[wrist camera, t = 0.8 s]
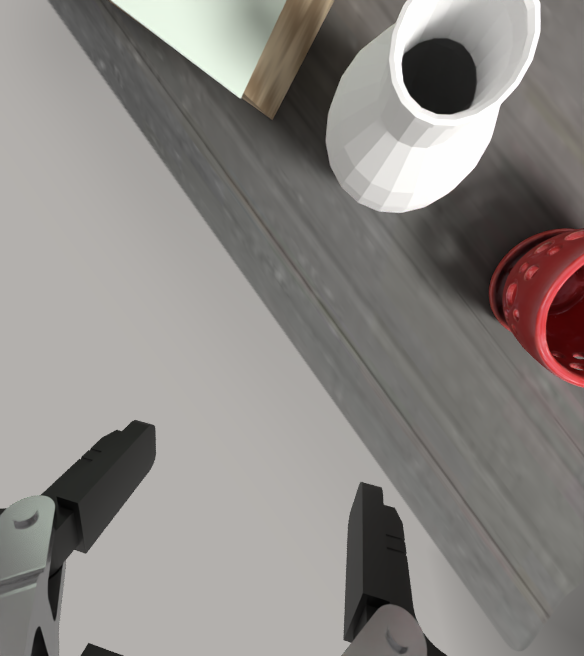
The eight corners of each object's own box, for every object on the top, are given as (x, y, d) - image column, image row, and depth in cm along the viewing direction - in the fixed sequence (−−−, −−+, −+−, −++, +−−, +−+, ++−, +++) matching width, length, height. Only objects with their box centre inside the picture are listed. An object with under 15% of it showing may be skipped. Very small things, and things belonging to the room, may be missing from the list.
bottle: (314, 173, 36) (236, 124, 12) (376, 61, 31) (436, -341, 8) (399, 229, 36) (477, 283, 13) (472, 127, 32) (793, -72, 8)
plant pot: (527, 358, 39) (595, 421, 28) (454, 280, 37) (496, 315, 26) (647, 282, 34) (787, 322, 23) (569, 188, 32) (680, 183, 21)
